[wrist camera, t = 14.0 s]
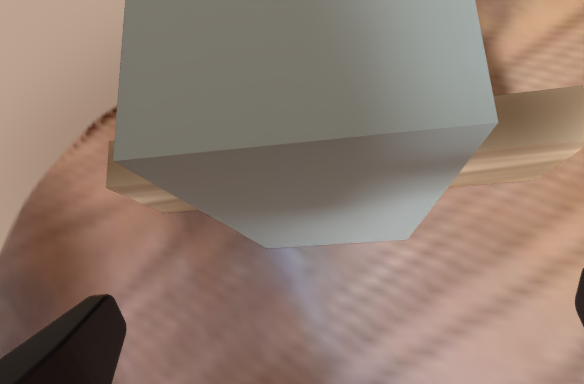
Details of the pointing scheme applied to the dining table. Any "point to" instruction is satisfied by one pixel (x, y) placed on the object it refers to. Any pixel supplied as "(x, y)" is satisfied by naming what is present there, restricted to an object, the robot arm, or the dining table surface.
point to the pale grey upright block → (303, 111)
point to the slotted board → (482, 165)
